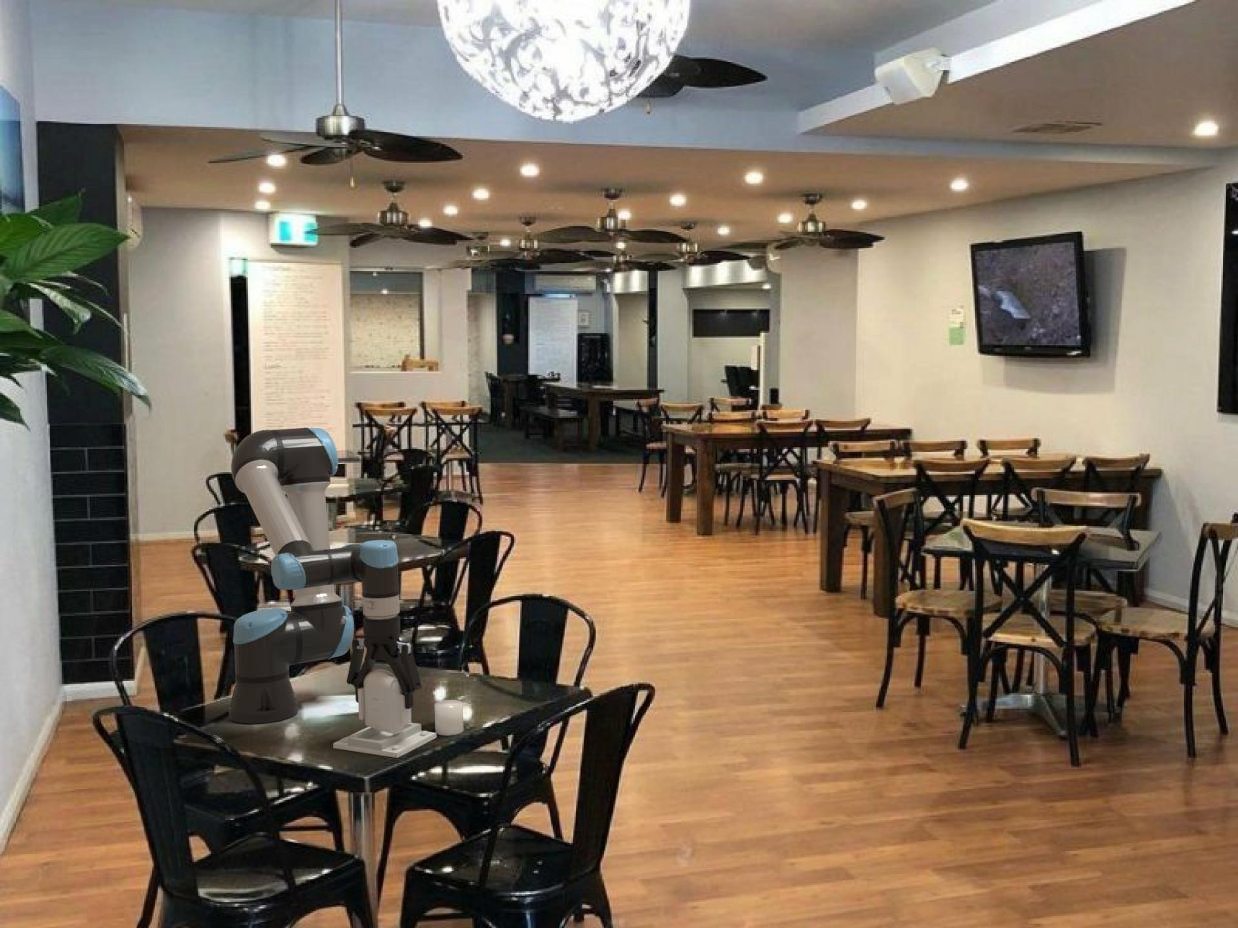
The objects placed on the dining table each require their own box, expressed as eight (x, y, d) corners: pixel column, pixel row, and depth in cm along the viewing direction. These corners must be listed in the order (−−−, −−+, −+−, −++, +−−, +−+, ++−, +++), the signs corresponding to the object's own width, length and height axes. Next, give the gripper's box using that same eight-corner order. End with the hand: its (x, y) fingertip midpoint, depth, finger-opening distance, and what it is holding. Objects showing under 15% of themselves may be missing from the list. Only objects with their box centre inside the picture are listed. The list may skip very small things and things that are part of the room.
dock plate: (333, 747, 247) (332, 736, 246) (374, 728, 259) (374, 717, 259) (397, 757, 240) (396, 745, 240) (436, 737, 252) (436, 725, 252)
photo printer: (361, 725, 251) (360, 668, 250) (378, 721, 254) (377, 664, 253) (391, 736, 244) (389, 676, 243) (408, 731, 247) (406, 672, 246)
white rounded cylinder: (429, 733, 256) (429, 705, 255) (445, 725, 261) (444, 698, 260) (453, 736, 253) (452, 709, 252) (468, 728, 258) (468, 701, 258)
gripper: (326, 615, 249) (330, 719, 250) (416, 623, 239) (419, 731, 241) (348, 608, 255) (352, 709, 257) (437, 615, 246) (440, 721, 248)
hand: (385, 720), depth 249 cm, fingers closed on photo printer, 10 cm apart
